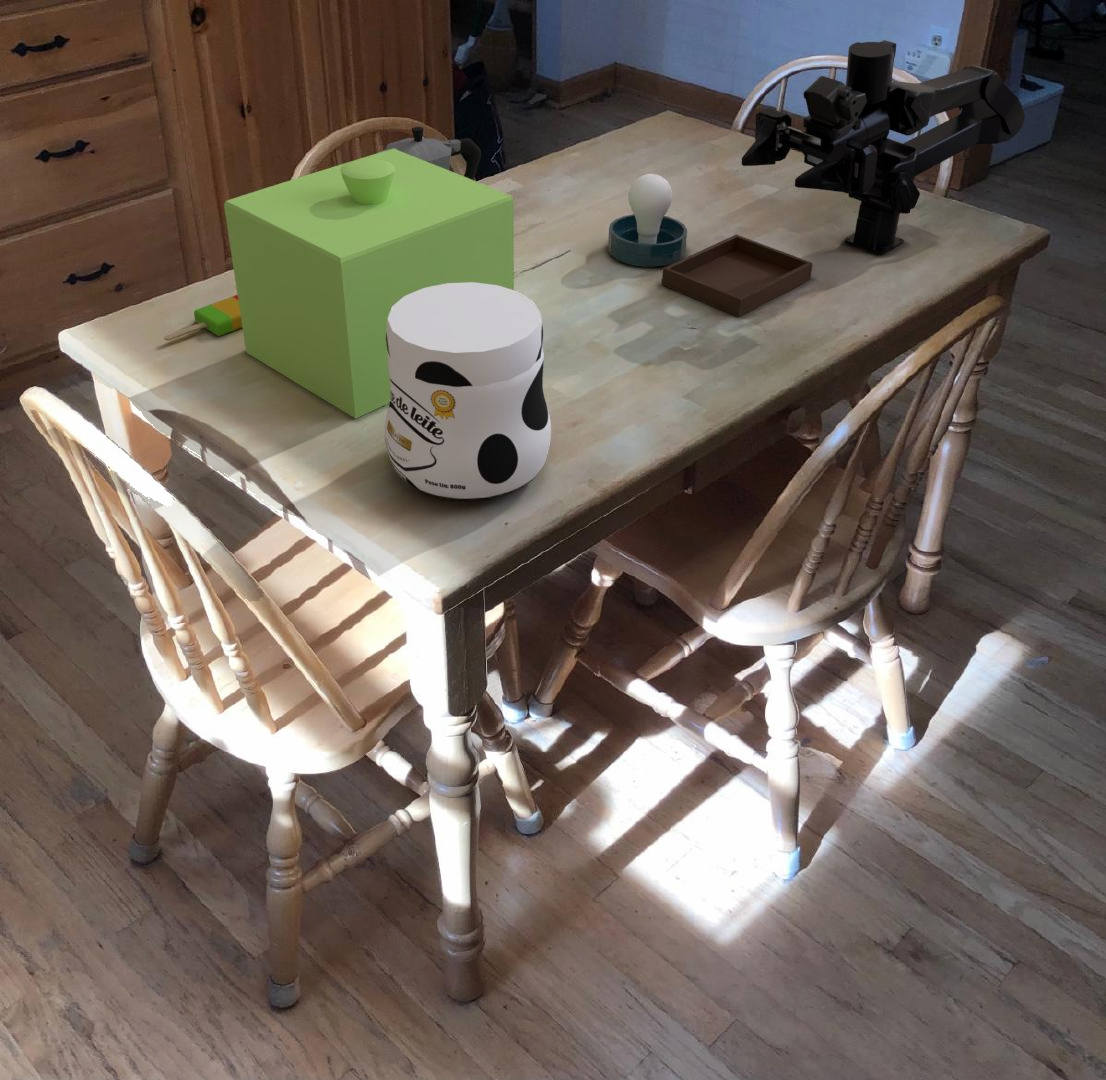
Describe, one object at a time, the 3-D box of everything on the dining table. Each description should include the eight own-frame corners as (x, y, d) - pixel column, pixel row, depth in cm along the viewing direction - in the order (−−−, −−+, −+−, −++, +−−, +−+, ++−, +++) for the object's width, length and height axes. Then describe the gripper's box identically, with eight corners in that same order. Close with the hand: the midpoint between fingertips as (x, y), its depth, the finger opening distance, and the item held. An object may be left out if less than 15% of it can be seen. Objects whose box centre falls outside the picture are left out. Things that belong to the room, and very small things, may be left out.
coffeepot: (388, 274, 168) (379, 144, 157) (369, 247, 175) (359, 121, 164) (493, 257, 173) (492, 130, 162) (471, 232, 179) (468, 108, 169)
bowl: (642, 230, 181) (644, 207, 179) (700, 252, 175) (702, 229, 173) (592, 251, 175) (593, 228, 173) (650, 275, 169) (652, 252, 167)
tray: (734, 250, 176) (736, 234, 174) (810, 279, 169) (813, 262, 167) (661, 285, 167) (662, 267, 165) (738, 317, 159) (740, 299, 158)
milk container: (359, 494, 126) (344, 339, 115) (429, 413, 139) (421, 266, 128) (515, 531, 122) (514, 373, 111) (572, 443, 135) (577, 293, 124)
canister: (402, 289, 164) (392, 116, 150) (513, 344, 152) (513, 163, 138) (246, 352, 150) (218, 167, 136) (355, 418, 138) (337, 224, 124)
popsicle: (280, 314, 158) (278, 300, 157) (178, 353, 149) (175, 339, 148) (255, 300, 161) (253, 287, 160) (154, 338, 152) (151, 324, 151)
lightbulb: (639, 262, 172) (644, 186, 165) (617, 245, 176) (621, 171, 169) (676, 254, 174) (682, 179, 167) (653, 238, 178) (659, 164, 171)
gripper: (800, 54, 163) (716, 91, 156) (914, 90, 151) (829, 131, 145) (796, 134, 170) (716, 173, 164) (904, 174, 159) (823, 217, 152)
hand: (768, 172), depth 156 cm, fingers open, 9 cm apart
